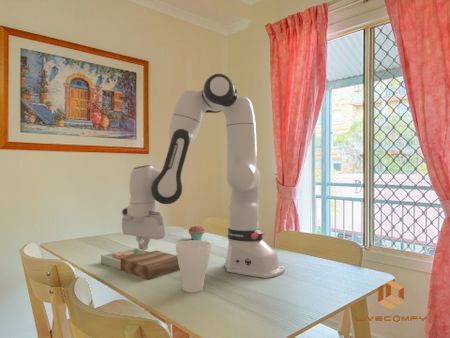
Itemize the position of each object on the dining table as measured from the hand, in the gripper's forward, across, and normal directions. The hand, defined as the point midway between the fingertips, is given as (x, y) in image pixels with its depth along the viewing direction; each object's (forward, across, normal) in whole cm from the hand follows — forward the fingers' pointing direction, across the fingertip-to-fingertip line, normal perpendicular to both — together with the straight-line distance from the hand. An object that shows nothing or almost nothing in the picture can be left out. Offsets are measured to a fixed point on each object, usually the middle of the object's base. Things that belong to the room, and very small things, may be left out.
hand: (143, 249), depth 114 cm
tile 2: (+4, +10, 0) cm, 11 cm away
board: (+7, -2, -2) cm, 8 cm away
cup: (+8, -27, +3) cm, 28 cm away
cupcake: (+8, +21, -51) cm, 56 cm away
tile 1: (+3, +14, 0) cm, 14 cm away
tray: (+7, +12, -3) cm, 14 cm away
